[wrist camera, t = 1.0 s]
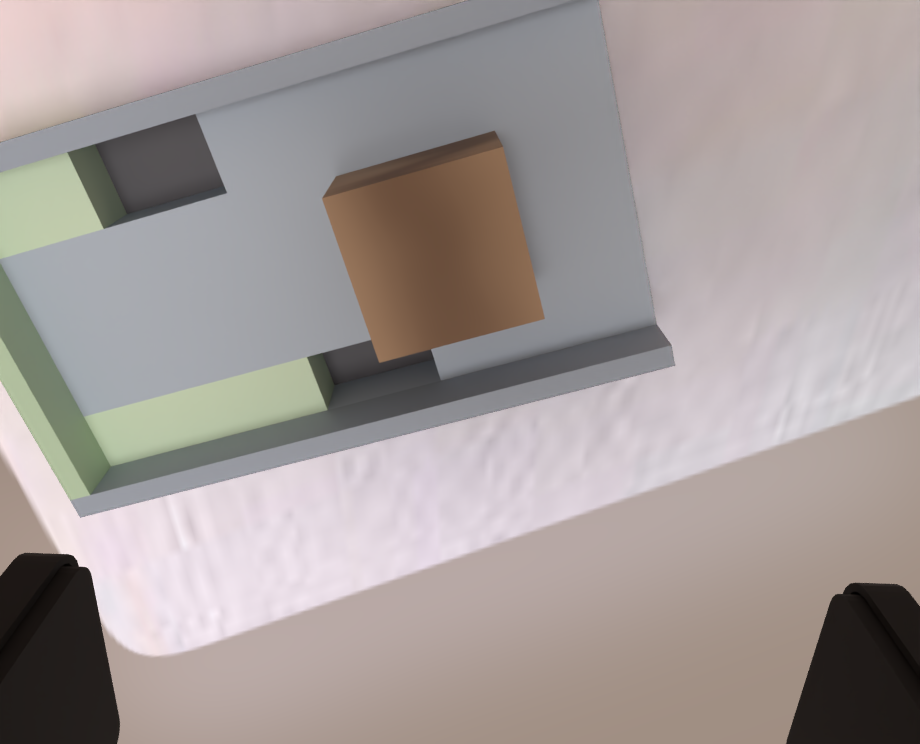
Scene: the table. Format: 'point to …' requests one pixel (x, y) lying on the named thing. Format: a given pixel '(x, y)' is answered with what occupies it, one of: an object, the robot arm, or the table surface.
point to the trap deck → (305, 253)
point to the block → (435, 247)
